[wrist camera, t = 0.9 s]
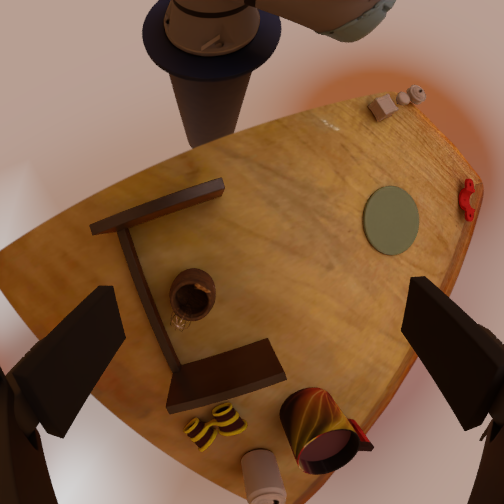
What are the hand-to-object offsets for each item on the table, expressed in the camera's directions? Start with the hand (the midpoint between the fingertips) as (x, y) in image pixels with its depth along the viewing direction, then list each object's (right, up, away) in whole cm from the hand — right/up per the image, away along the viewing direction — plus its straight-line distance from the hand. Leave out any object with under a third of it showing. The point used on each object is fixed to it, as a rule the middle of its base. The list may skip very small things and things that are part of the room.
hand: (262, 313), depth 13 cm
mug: (+11, -25, +35) cm, 44 cm away
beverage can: (+1, -36, +35) cm, 50 cm away
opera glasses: (-7, -25, +33) cm, 42 cm away
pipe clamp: (+40, +12, +32) cm, 53 cm away
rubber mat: (+22, +8, +33) cm, 40 cm away
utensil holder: (-8, -2, +30) cm, 31 cm away
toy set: (+24, +28, +27) cm, 46 cm away
